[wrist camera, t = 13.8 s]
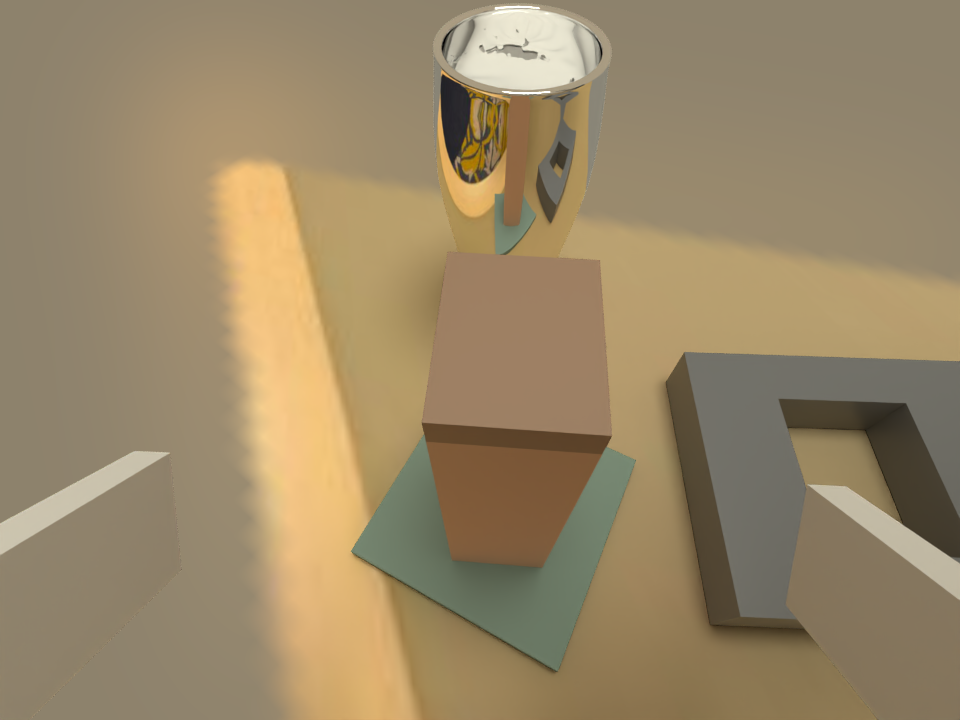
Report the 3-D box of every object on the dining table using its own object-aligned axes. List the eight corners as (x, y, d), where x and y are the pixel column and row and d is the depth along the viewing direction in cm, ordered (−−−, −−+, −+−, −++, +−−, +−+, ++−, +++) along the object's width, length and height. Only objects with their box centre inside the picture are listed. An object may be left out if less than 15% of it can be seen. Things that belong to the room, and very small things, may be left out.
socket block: (922, 391, 28) (967, 361, 25) (1045, 639, 21) (1120, 633, 19) (666, 382, 28) (684, 352, 26) (710, 624, 22) (740, 616, 19)
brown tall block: (543, 460, 25) (600, 260, 13) (542, 567, 22) (612, 436, 11) (462, 454, 25) (447, 251, 13) (451, 560, 23) (421, 422, 11)
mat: (632, 464, 26) (635, 460, 25) (556, 671, 21) (557, 671, 20) (458, 385, 28) (458, 379, 28) (353, 554, 23) (350, 551, 23)
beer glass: (508, 245, 34) (525, -16, 21) (585, 308, 31) (658, 49, 18) (424, 298, 31) (388, 38, 19) (499, 371, 29) (516, 122, 16)
